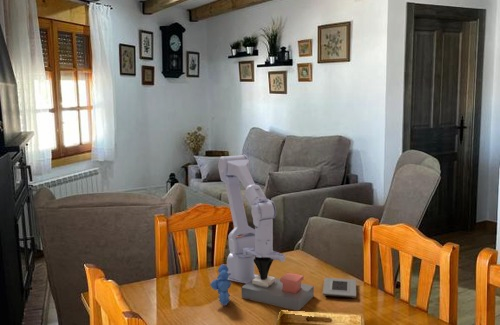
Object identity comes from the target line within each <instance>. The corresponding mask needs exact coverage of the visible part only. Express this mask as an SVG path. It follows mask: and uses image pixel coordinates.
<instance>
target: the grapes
mask: <svg viewBox="0 0 500 325" xmlns="http://www.w3.org/2000/svg"><path fill="white" fill-rule="evenodd" d="M228 270H229V269H228V267H227V264H224V263H222V264H220V266H219V267H218V270H217V272H218V275H217V278H216V279H215V278H214V279H213V280H212V281H211V283H210V287H211V289H213V291H217V293H218V301H219V302H220V304H221V305H222V306H227V304H229V302H230V296H231V295H230V293H229V288H230V287H231V286H232V282H231V280H228V276H229V274H228V273H227V272H228Z"/></svg>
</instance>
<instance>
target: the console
mask: <svg viewBox="0 0 500 325" xmlns="http://www.w3.org/2000/svg"><path fill="white" fill-rule="evenodd" d="M257 275H258V276H259V275H260V274H257ZM255 278H256V277H255ZM314 289H315V287H314V285H309V284H306V283H302V282H301V290H300V291H299V292H298V293H297V294H293V293H288V292H284V291H283V283H282V282H280V278H277V277H275V281H274V282H273V284H272V285H270V286H269V287H268V288H265V287H261V286H256V285H255V284H253V283H252V280H251V281H250V282H248V283H247V284H245V283H244V285H243V286H241V298H242V299H245V300H249V301H254V302H259V303H262V304H267V305H270V306H271V305H272V306H276V307H281V308H284V309H288V310H292V309H293V310H292V311H297V310H299V311H300V310H301V309H302V308H304V306H305V305H306V304H307V303H309V301H310V300H312V299H313V297H314V296H315V295H314V294H315V290H314Z"/></svg>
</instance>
